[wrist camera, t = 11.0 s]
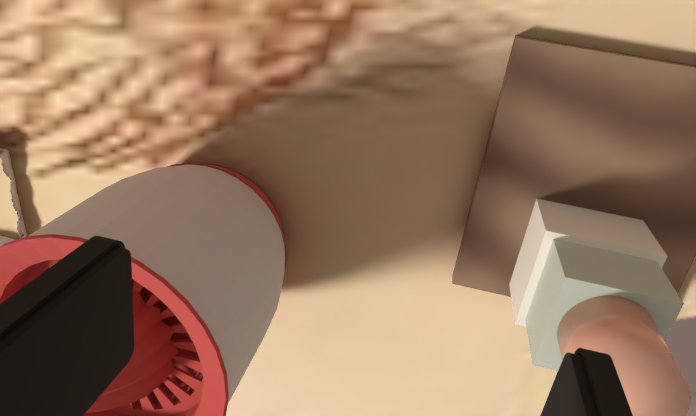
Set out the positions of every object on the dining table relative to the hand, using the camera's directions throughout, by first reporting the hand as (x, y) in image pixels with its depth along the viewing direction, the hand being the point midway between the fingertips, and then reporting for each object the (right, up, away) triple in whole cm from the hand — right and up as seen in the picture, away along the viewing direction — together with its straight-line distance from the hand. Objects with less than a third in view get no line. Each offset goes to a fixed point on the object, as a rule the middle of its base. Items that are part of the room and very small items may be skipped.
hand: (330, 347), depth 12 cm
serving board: (+17, +4, +26) cm, 31 cm away
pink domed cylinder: (+14, -4, +18) cm, 24 cm away
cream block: (+16, 0, +27) cm, 31 cm away
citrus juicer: (-11, +1, +34) cm, 36 cm away
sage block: (+15, -2, +22) cm, 27 cm away
